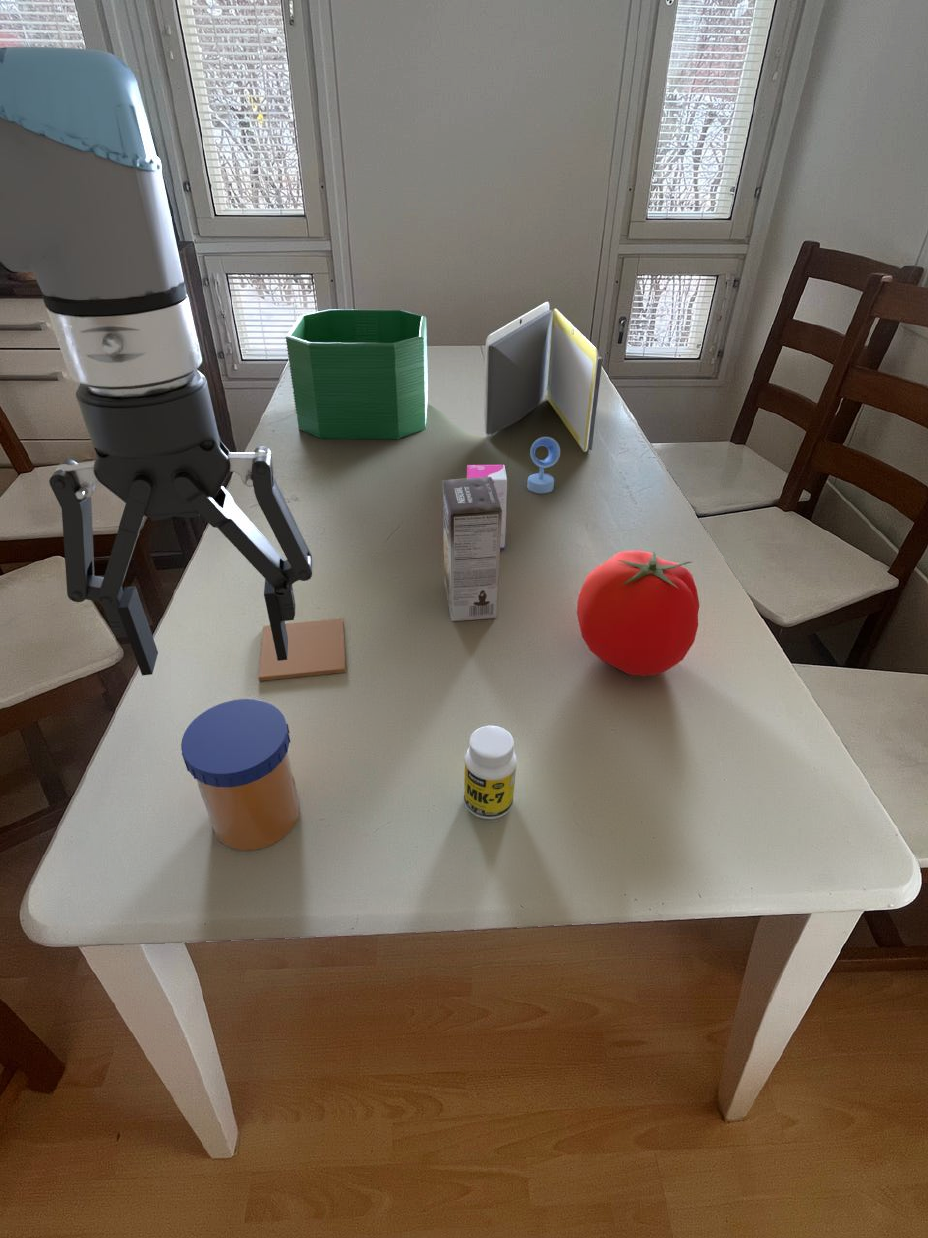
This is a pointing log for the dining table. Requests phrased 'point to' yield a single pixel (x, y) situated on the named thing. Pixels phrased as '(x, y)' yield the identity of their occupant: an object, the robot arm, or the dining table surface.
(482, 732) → the supplement bottle
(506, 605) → the dining table surface
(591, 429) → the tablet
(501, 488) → the supplement box
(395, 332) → the planter
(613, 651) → the tomato
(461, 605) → the coffee box
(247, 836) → the jar
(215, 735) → the lid
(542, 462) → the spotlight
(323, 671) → the coaster
